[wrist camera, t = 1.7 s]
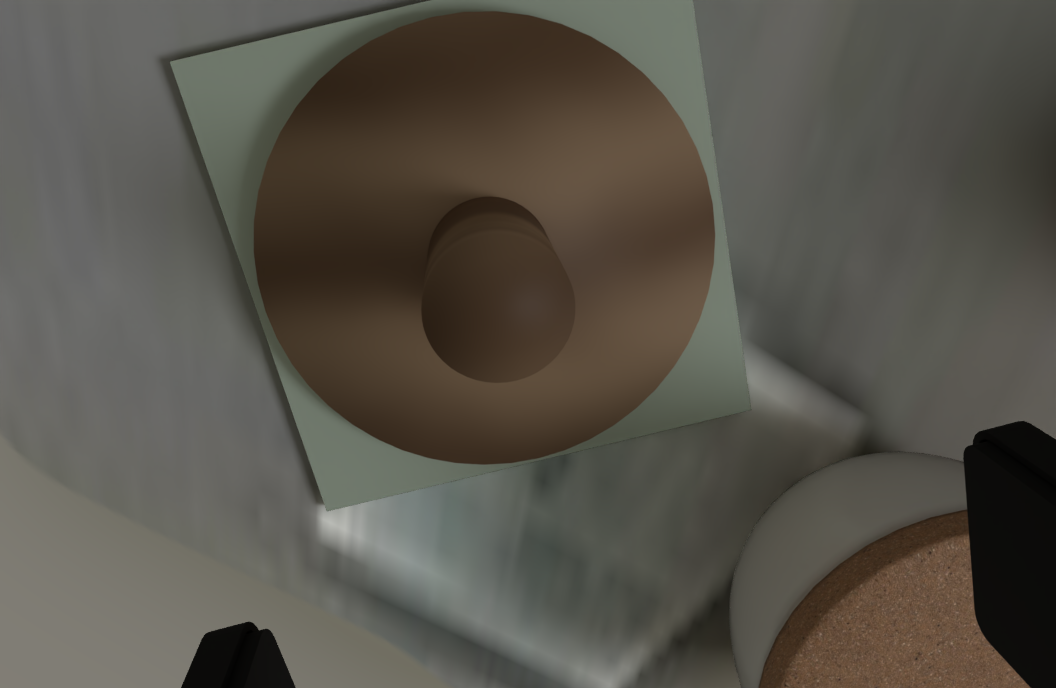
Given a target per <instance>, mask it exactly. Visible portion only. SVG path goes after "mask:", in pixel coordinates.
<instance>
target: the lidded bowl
mask: <svg viewBox="0 0 1056 688" xmlns="http://www.w3.org/2000/svg"><path fill="white" fill-rule="evenodd" d="M729 626H730V634H731V642H732V649H733V656H734V663H735V667H736V671H737V675H738V678H739V682H740V686H741V688H1030V687H1029V685H1028V684H1027V683H1026V682H1025V681H1024V680H1023V679H1022V678H1021V677H1020V676H1019V675H1018V674H1017V672H1016V671H1015V670H1014V669H1013V668H1012V667H1011V666H1010V665H1009V664H1008V663H1007V662H1006V661H1005V659H1004V658H1003V657H1002V656H1001V655H1000V654H999V653H998V652H997V651H996V650H995V649H994V648H993V647H992V645H991V644H990V643H989V642H988V641H987V640H986V638H985V637H984V635H983V633H982V632H981V630H980V628H979V625H978V623H977V620H976V616H975V610H974V596H973V583H972V569H971V555H970V541H969V528H968V514H967V500H966V487H965V473H964V462H963V461H959V460H955V459H951V458H947V457H942V456H938V455H931V454H925V453H914V452H900V451H898V452H885V453H874V454H867V455H862V456H858V457H853V458H849V459H845V460H842V461H839V462H836V463H834V464H831V465H828V466H826V467H823V468H821V469H820V470H818V471H816V472H814V473H812V474H810V475H808V476H806V477H805V478H803V479H802V480H800V481H799V482H797V483H796V484H795V485H793V486H792V487H790V488H789V489H788V490H786V491H785V492H784V493H783V494H782V495H781V496H780V497H779V498H778V499H777V500H776V501H775V502H773V503H772V504H771V505H770V507H769V508H768V509H767V510H766V512H765V513H764V514H763V515H762V517H761V518H760V519H759V520H758V522H757V523H756V525H755V527H754V528H753V530H752V532H751V533H750V535H749V537H748V538H747V541H746V543H745V545H744V547H743V550H742V552H741V554H740V557H739V559H738V562H737V564H736V568H735V572H734V577H733V581H732V586H731V594H730V608H729Z"/></svg>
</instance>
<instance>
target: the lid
mask: <svg viewBox="0 0 1056 688" xmlns="http://www.w3.org/2000/svg"><path fill="white" fill-rule="evenodd" d="M714 249H715V224H714V212H713V203H712V198H711V194H710V189H709V184H708V180H707V175H706V173H705V170H704V167H703V164H702V162H701V159H700V156H699V153H698V150H697V148H696V146H695V144H694V142H693V140H692V138H691V136H690V134H689V132H688V130H687V128H686V127H685V125H684V123H683V121H682V119H681V118H680V117H679V115H678V114H677V112H676V111H675V110H674V108H673V107H672V105H671V104H670V102H669V101H668V100H667V98H666V97H665V95H664V94H663V93H662V92H661V91H660V90H659V89H658V88H657V87H656V86H655V85H654V84H653V83H652V82H651V81H650V79H649V78H648V77H647V76H646V75H645V74H644V73H643V72H642V71H640V70H639V69H638V68H637V67H635V66H634V65H633V64H632V63H630V62H629V61H628V60H627V59H626V58H624V57H623V56H622V55H621V54H619V53H618V52H616V51H615V50H613V49H611V48H610V47H608V46H606V45H605V44H603V43H601V42H600V41H598V40H596V39H595V38H593V37H591V36H589V35H587V34H584V33H582V32H580V31H577V30H575V29H573V28H570V27H568V26H565V25H563V24H561V23H557V22H553V21H549V20H546V19H542V18H538V17H534V16H530V15H524V14H515V13H507V12H499V11H484V12H460V13H454V14H448V15H442V16H435V17H430V18H427V19H424V20H420V21H417V22H414V23H411V24H408V25H404V26H401V27H398V28H396V29H394V30H392V31H390V32H388V33H386V34H384V35H382V36H379V37H377V38H375V39H373V40H371V41H369V42H368V43H366V44H365V45H363V46H362V47H360V48H359V49H357V50H355V51H354V52H352V53H351V54H349V55H348V56H346V57H345V58H343V59H342V60H341V61H340V62H339V63H337V64H336V65H335V66H334V67H333V68H332V69H331V70H330V71H328V72H327V73H326V74H325V75H324V76H323V77H322V78H321V79H319V80H318V81H317V82H316V84H315V85H314V86H313V87H312V88H311V90H310V91H309V92H308V93H307V94H306V95H305V97H304V98H303V99H302V100H301V101H300V103H299V104H298V105H297V106H296V108H295V109H294V111H293V113H292V114H291V116H290V117H289V119H288V121H287V122H286V124H285V125H284V127H283V128H282V130H281V132H280V133H279V136H278V138H277V140H276V142H275V145H274V147H273V149H272V151H271V154H270V156H269V158H268V160H267V163H266V166H265V170H264V173H263V177H262V180H261V184H260V187H259V191H258V197H257V204H256V211H255V217H254V259H255V266H256V274H257V281H258V286H259V289H260V293H261V297H262V300H263V304H264V308H265V311H266V314H267V316H268V318H269V321H270V323H271V326H272V328H273V330H274V333H275V335H276V337H277V339H278V341H279V343H280V345H281V346H282V348H283V350H284V351H285V353H286V355H287V357H288V358H289V360H290V362H291V363H292V365H293V366H294V367H295V369H296V370H297V371H298V372H299V374H300V375H301V376H302V378H303V379H304V380H305V382H306V383H307V384H308V385H309V387H310V388H311V389H312V390H313V391H314V392H315V393H316V394H317V395H318V396H319V397H320V398H321V399H322V400H323V401H324V402H325V403H326V404H327V405H328V406H329V407H331V408H332V409H333V410H334V411H336V412H337V413H338V414H340V415H341V416H342V417H343V418H345V419H346V420H347V421H349V422H350V423H351V424H352V425H354V426H356V427H357V428H359V429H361V430H363V431H364V432H366V433H368V434H369V435H371V436H373V437H374V438H376V439H378V440H380V441H383V442H385V443H387V444H389V445H392V446H394V447H396V448H398V449H401V450H403V451H407V452H410V453H413V454H416V455H420V456H423V457H426V458H430V459H436V460H441V461H447V462H453V463H463V464H479V465H488V464H505V463H515V462H520V461H526V460H532V459H537V458H541V457H544V456H548V455H551V454H554V453H558V452H561V451H564V450H567V449H569V448H571V447H574V446H576V445H578V444H580V443H583V442H585V441H587V440H590V439H591V438H593V437H595V436H597V435H598V434H600V433H602V432H603V431H605V430H607V429H608V428H610V427H612V426H614V425H615V424H616V423H618V422H619V421H620V420H622V419H623V418H624V417H626V416H627V415H628V414H629V413H631V412H632V411H633V410H635V409H636V408H637V407H638V406H639V405H640V404H641V403H642V402H643V401H644V400H645V399H646V398H647V397H648V396H649V395H651V394H652V393H653V392H654V391H655V390H656V389H657V387H658V386H659V385H660V384H661V382H662V381H663V380H664V379H665V377H666V376H667V375H668V374H669V372H670V371H671V370H672V369H673V367H674V366H675V364H676V363H677V361H678V359H679V358H680V356H681V355H682V353H683V351H684V350H685V348H686V347H687V345H688V343H689V341H690V339H691V337H692V335H693V333H694V330H695V328H696V326H697V324H698V322H699V320H700V317H701V314H702V311H703V308H704V304H705V301H706V298H707V295H708V292H709V287H710V281H711V276H712V270H713V265H714Z"/></svg>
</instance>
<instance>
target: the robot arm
mask: <svg viewBox="0 0 1056 688" xmlns="http://www.w3.org/2000/svg"><path fill="white" fill-rule="evenodd" d="M963 459H964V473H965V487H966V500H967V514H968V528H969V541H970V555H971V569H972V583H973V596H974V610H975V616H976V620H977V623H978V625H979V628H980V630H981V632H982V633H983V635H984V637H985V638H986V640H987V641H988V642H989V643H990V644H991V645H992V647H993V648H994V649H995V650H996V651H997V652H998V653H999V654H1000V655H1001V656H1002V657H1003V658H1004V659H1005V661H1006V662H1007V663H1008V664H1009V665H1010V666H1011V667H1012V668H1013V669H1014V670H1015V671H1016V672H1017V674H1018V675H1019V676H1020V677H1021V678H1022V679H1023V680H1024V681H1025V682H1026V683H1027V684H1028V685H1029V687H1030V688H1056V439H1054V438H1052V437H1051V436H1049V435H1048V434H1046V433H1044V432H1043V431H1041V430H1040V429H1038V428H1036V427H1035V426H1033V425H1032V424H1030V423H1027V422H1025V421H1018V422H1014V423H1010V424H1006V425H1003V426H999V427H995V428H991V429H987V430H983V431H980V432H978V433H977V434H976V435H975V437H974V440H973V445H970V446H968V447H966V448H965V450H964V458H963ZM181 688H295V685H294V683H293V680H292V678H291V676H290V673H289V671H288V668H287V666H286V664H285V661H284V659H283V657H282V654H281V652H280V649H279V647H278V645H277V642H276V640H275V638H274V636H273V634H272V632H271V631H270V630H268V629H263V630H260V631H259V630H258V628H257V627H256V626H255V625H254V624H253V623H252V622H245V623H242V624H238V625H234V626H230V627H226V628H222V629H219V630H215V631H211V632H208V633H206V634H205V635H204V637H203V638H202V640H201V642H200V645H199V647H198V649H197V652H196V654H195V656H194V659H193V661H192V663H191V666H190V668H189V671H188V673H187V675H186V677H185V680H184V682H183V684H182V687H181Z"/></svg>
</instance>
